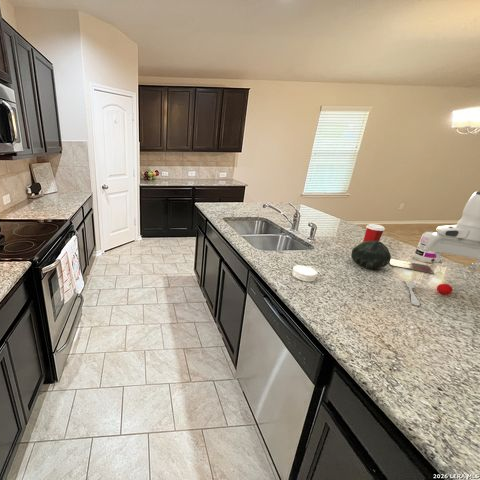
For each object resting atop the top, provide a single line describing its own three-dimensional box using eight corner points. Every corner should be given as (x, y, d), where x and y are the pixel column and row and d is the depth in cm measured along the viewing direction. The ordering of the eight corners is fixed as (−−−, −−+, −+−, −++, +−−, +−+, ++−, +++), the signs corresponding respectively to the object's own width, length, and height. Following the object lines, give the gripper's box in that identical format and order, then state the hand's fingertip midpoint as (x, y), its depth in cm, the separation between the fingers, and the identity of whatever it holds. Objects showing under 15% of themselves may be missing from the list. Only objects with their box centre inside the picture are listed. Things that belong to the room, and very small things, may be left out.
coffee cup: (374, 248, 148) (382, 224, 143) (378, 254, 141) (387, 229, 136) (357, 246, 152) (364, 222, 146) (360, 251, 145) (368, 226, 139)
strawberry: (447, 292, 106) (452, 283, 104) (451, 297, 102) (456, 288, 101) (433, 289, 108) (437, 280, 106) (436, 294, 104) (441, 285, 103)
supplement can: (436, 261, 134) (448, 234, 128) (431, 264, 130) (443, 237, 124) (415, 255, 140) (426, 230, 135) (410, 258, 136) (421, 232, 131)
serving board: (428, 266, 128) (428, 265, 128) (433, 274, 120) (434, 273, 120) (387, 258, 136) (387, 257, 136) (390, 265, 128) (390, 264, 128)
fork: (408, 308, 99) (411, 303, 98) (402, 281, 114) (404, 276, 113) (418, 311, 97) (421, 305, 96) (410, 283, 112) (413, 278, 111)
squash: (361, 246, 137) (360, 231, 127) (395, 257, 126) (398, 241, 116) (346, 266, 135) (345, 252, 125) (380, 279, 124) (382, 265, 114)
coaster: (319, 283, 112) (321, 276, 110) (295, 280, 114) (296, 273, 112) (311, 272, 121) (313, 266, 120) (289, 270, 123) (290, 263, 121)
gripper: (509, 236, 92) (490, 269, 97) (431, 225, 102) (418, 256, 107) (519, 241, 87) (499, 276, 92) (436, 230, 97) (422, 262, 102)
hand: (455, 265), depth 100 cm, fingers open, 8 cm apart
